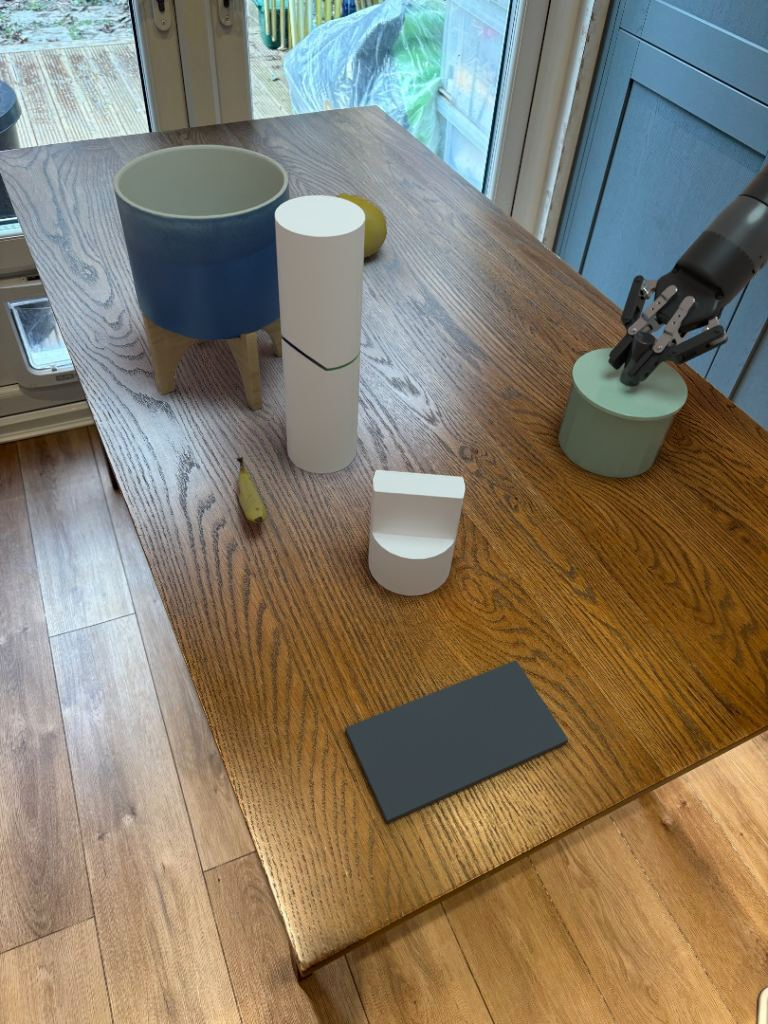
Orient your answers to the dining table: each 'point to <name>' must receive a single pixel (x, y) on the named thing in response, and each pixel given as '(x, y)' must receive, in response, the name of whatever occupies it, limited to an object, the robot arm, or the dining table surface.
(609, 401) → the lid
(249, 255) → the planter
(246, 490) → the banana
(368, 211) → the fruit
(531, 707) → the mat
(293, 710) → the dining table surface
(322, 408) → the container
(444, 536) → the base with upright slab
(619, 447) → the pot
